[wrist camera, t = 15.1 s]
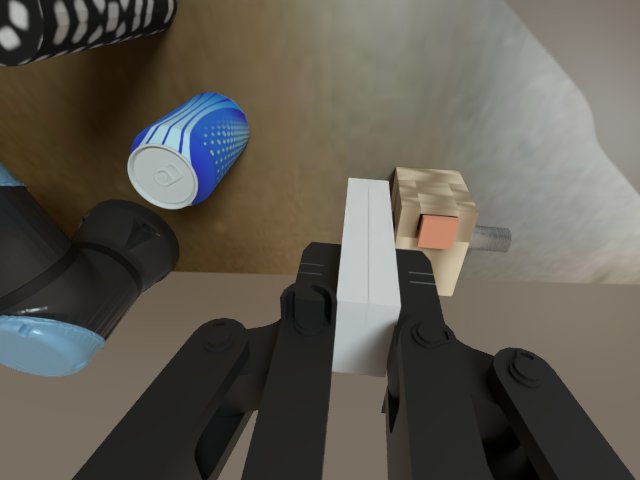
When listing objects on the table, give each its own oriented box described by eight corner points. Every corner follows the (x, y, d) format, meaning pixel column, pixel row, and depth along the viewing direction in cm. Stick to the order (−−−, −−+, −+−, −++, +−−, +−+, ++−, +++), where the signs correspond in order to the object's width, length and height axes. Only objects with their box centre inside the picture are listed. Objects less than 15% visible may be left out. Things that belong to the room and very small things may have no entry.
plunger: (410, 210, 46) (417, 246, 40) (416, 185, 44) (424, 218, 38) (439, 213, 46) (451, 249, 40) (446, 187, 44) (459, 221, 37)
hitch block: (383, 241, 54) (386, 289, 46) (396, 166, 47) (402, 207, 39) (438, 246, 54) (451, 296, 45) (459, 171, 47) (479, 213, 38)
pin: (375, 234, 49) (376, 254, 45) (380, 204, 47) (381, 223, 43) (494, 244, 48) (505, 266, 44) (505, 214, 45) (518, 235, 42)
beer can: (250, 161, 49) (207, 224, 36) (189, 148, 49) (124, 208, 36) (253, 97, 44) (206, 144, 31) (185, 83, 44) (109, 125, 31)
